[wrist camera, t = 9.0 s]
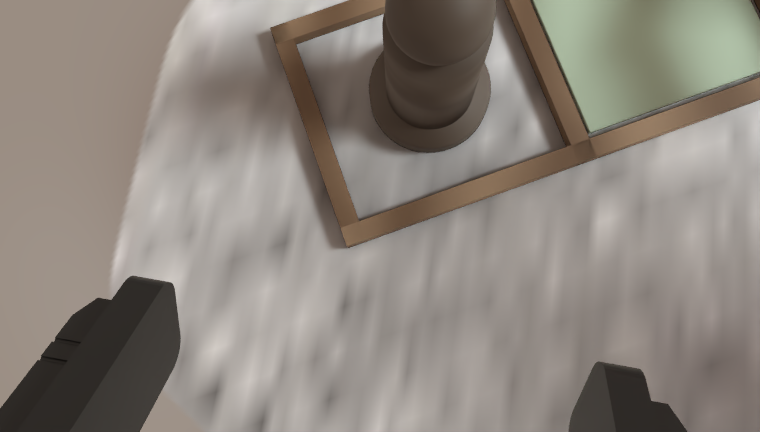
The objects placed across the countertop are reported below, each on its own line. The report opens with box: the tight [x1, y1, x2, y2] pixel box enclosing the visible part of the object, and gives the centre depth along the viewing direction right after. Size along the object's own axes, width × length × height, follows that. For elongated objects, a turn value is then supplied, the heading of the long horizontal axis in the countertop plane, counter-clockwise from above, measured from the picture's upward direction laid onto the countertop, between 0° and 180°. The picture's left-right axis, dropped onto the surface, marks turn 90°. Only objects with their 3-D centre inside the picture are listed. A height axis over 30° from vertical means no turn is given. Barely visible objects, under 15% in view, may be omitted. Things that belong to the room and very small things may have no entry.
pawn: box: [369, 0, 496, 153], centre depth 22 cm, size 5×5×9 cm
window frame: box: [270, 0, 760, 248], centre depth 27 cm, size 21×10×1 cm, turn 110°
